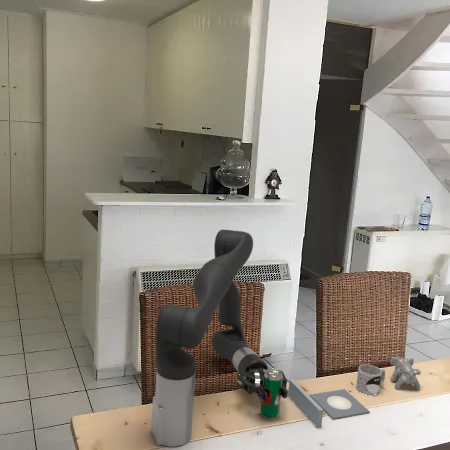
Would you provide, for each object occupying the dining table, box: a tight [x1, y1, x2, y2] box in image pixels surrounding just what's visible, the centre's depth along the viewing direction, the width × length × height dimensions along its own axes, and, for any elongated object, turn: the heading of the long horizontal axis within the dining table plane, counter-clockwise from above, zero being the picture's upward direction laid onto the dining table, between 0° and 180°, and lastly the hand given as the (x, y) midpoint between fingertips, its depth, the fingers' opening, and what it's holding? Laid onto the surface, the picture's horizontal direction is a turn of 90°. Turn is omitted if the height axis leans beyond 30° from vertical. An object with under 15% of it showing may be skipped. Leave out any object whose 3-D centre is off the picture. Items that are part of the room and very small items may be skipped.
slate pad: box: [309, 388, 371, 421], centre depth 142 cm, size 12×12×1 cm
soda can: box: [259, 367, 283, 419], centre depth 132 cm, size 5×5×12 cm
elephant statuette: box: [389, 356, 422, 391], centre depth 157 cm, size 9×12×8 cm
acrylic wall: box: [287, 378, 324, 429], centre depth 137 cm, size 1×16×5 cm, turn 21°
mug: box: [355, 363, 386, 396], centre depth 151 cm, size 10×7×7 cm
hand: (276, 396), depth 130 cm, fingers closed on soda can, 5 cm apart
